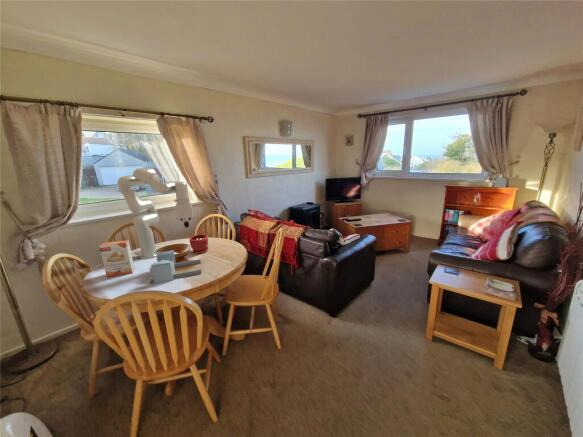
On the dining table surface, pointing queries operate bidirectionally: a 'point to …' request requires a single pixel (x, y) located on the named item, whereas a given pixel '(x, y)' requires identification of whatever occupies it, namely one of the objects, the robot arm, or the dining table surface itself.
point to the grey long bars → (184, 272)
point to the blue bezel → (163, 267)
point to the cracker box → (117, 258)
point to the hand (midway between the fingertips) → (186, 227)
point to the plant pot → (199, 243)
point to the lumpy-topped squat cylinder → (171, 266)
